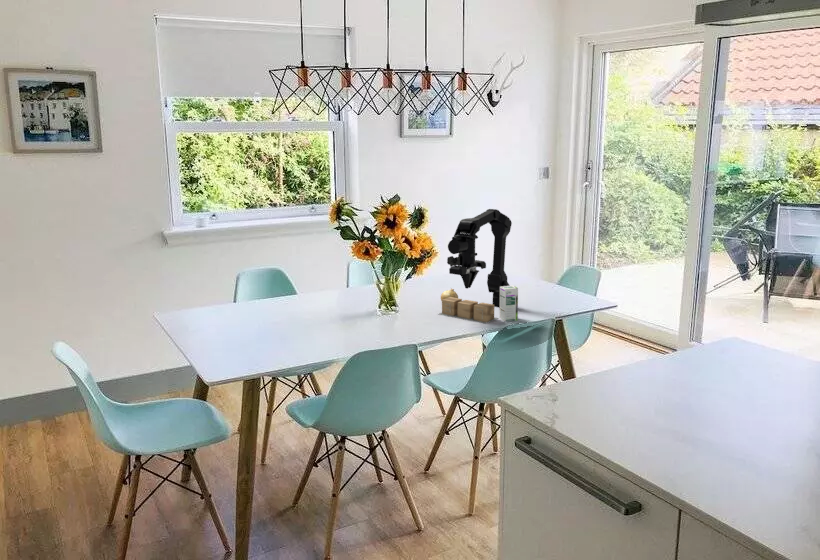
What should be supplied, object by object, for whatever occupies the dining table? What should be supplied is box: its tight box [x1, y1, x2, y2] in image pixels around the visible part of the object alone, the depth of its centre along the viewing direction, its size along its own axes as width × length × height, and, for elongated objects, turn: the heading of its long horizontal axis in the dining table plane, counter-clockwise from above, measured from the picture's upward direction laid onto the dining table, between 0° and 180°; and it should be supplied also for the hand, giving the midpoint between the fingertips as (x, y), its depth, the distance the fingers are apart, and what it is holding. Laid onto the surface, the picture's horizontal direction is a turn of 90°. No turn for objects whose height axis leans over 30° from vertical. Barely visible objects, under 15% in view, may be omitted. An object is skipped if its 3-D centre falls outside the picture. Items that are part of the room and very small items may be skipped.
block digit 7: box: [474, 302, 495, 322], centre depth 281 cm, size 6×6×6 cm
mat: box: [437, 312, 500, 325], centre depth 287 cm, size 10×24×1 cm, turn 51°
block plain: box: [458, 299, 479, 319], centre depth 286 cm, size 6×6×6 cm
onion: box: [440, 288, 459, 302], centre depth 310 cm, size 8×8×7 cm
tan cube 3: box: [441, 297, 463, 316], centre depth 291 cm, size 6×6×6 cm
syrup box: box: [499, 285, 519, 322], centre depth 280 cm, size 6×6×14 cm
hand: (467, 288), depth 284 cm, fingers closed
